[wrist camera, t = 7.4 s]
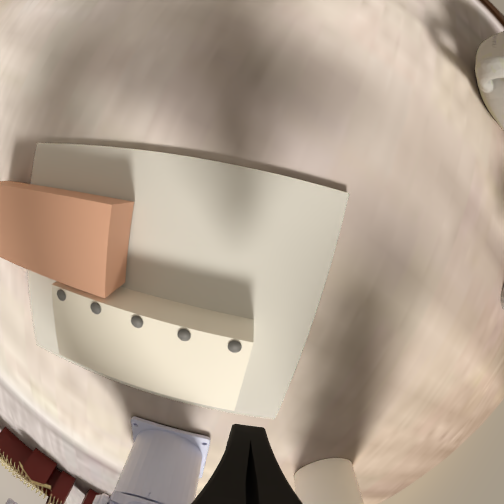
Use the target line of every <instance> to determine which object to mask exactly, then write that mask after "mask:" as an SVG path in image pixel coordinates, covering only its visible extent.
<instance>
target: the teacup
mask: <svg viewBox="0 0 504 504" xmlns="http://www.w3.org/2000/svg"><path fill="white" fill-rule="evenodd" d="M475 73H476V78H477V83H478V87H479V91H480V94H481V96H482V99H483V101H484V103H485V105H486V107H487V109H488V110H489V112H490V114H491V115H492V117H493V118H494V119H495V120H496V122H497V123H498V124H499V126H500V127H501V128H502V129H503V131H504V31H503V32H500V33H498V34H496V35H494V36H491V37H490V38H488V39H486V40H485V41H483V42H482V44H481V45H480V46H479V48H478V50H477V54H476V65H475Z"/></svg>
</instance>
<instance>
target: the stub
mask: <svg viewBox="0 0 504 504" xmlns="http://www.w3.org/2000/svg"><path fill="white" fill-rule="evenodd" d="M133 206H134V202H133V201H127V200H122V199H116V198H111V197H105V196H100V195H94V194H88V193H83V192H77V191H71V190H65V189H59V188H53V187H46V186H40V185H34V184H27V183H20V182H14V181H0V257H1V258H3V259H5V260H8V261H10V262H12V263H14V264H17V265H19V266H21V267H23V268H26V269H28V270H30V271H33V272H35V273H38V274H40V275H43V276H45V277H47V278H50V279H53V280H55V281H58V282H60V283H63V284H66V285H68V286H71V287H74V288H76V289H79V290H82V291H85V292H88V293H91V294H94V295H96V296H99V297H102V298H106V297H107V296H109V295H110V294H111V293H112V292H114V291H115V290H116V289H118V288H119V287H120V286H121V285H123V284H124V283H125V278H126V265H127V254H128V244H129V235H130V227H131V220H132V213H133Z"/></svg>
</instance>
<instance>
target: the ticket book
mask: <svg viewBox="0 0 504 504" xmlns="http://www.w3.org/2000/svg"><path fill="white" fill-rule="evenodd" d="M51 286H52V301H53V312H54V322H55V330H56V337H57V343H58V349H59V354H60V355H62V356H64V357H66V358H68V359H70V360H73V361H75V362H77V363H79V364H81V365H84V366H86V367H88V368H90V369H93V370H95V371H98V372H100V373H103V374H105V375H108V376H110V377H113V378H115V379H118V380H121V381H124V382H126V383H129V384H132V385H135V386H138V387H141V388H144V389H147V390H150V391H154V392H157V393H160V394H164V395H167V396H171V397H174V398H178V399H182V400H186V401H190V402H194V403H198V404H203V405H207V406H212V407H217V408H222V409H227V410H232V411H234V410H235V407H236V403H237V400H238V396H239V393H240V389H241V386H242V382H243V379H244V375H245V372H246V368H247V364H248V361H249V357H250V353H251V350H252V346H253V342H254V319H249V318H244V317H239V316H235V315H230V314H225V313H221V312H217V311H212V310H208V309H203V308H199V307H195V306H191V305H187V304H183V303H179V302H175V301H171V300H167V299H163V298H160V297H156V296H152V295H148V294H145V293H141V292H138V291H134V290H131V289H127V288H124V287H119V288H118V289H116V290H115V291H114V292H112V293H111V294H110V295H109V296H107V297H106V298H102V297H99V296H96V295H94V294H91V293H88V292H85V291H82V290H79V289H76V288H74V287H71V286H68V285H66V284H63V283H60V282H58V281H56V282H55V283H53V284H51Z"/></svg>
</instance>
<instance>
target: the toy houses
mask: <svg viewBox="0 0 504 504" xmlns="http://www.w3.org/2000/svg"><path fill="white" fill-rule="evenodd" d="M0 459H1V461H2V462H3V461H4V462H5V463H6V464H7V465H8V466H10V467H9V468H12V469H13V471H15V472H17V474H19V475H21V476H20V477H23V478H24V482H25V480H27V481H28V482H27V483H30V484H32V485H33V487H34V486H35V488H37V490H38V489H39V491H41V492H43V493H44V494H46V495H47V496H49V497H48V499H47V502H46V504H50V503H52V504H64V503H65V501H66V499H67V497H68V495H69V493H70V491H71V489H72V487H73V484H74V482H75V478H74V477H72V476H71V475H69V474H67V473H66V472H64V471H62V472H60V471H59V470H57V469H56V467H57V463H55V462H54V461H53V460H51V459H50V458H48V457H47V456H46V455H44V454H43V453H42V452H41V451H39V450H38V449H37V448H35V450H34V451H32V450H31V449H30V448H29V447H27V446H26V445H25V444H24V443H23V442H22V441H20V440H19V439H18V438H17V437H16V436H15V435H14V434H13V433H12V432H11V431H9V430H8V429H7V428H6V427H5V428H4V429H3V430H2V431H1V432H0ZM2 466H3V464H2ZM5 469H8V468H6V466H5ZM9 472H10V471H9ZM11 472H12V471H11ZM13 475H15V474H13ZM16 478H19V477H17V476H16ZM22 480H23V479H22ZM22 480H21V478H20V481H22ZM24 484H26V483H24ZM30 486H31V485H30ZM28 487H29V484H28ZM32 489H33V488H32ZM37 492H38V491H36V493H37ZM41 495H42V493H41ZM96 495H101V494H99V493H97V492H95V491H93V490H92V489H90V490H89V491H88V492H87V494H86V495H85V497H84V500H83V502H82V504H92V503H93V501H94V499H95V496H96ZM44 498H45V496H44Z"/></svg>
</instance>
